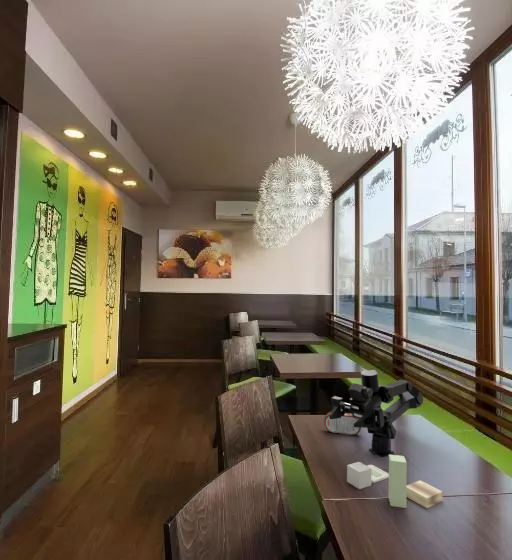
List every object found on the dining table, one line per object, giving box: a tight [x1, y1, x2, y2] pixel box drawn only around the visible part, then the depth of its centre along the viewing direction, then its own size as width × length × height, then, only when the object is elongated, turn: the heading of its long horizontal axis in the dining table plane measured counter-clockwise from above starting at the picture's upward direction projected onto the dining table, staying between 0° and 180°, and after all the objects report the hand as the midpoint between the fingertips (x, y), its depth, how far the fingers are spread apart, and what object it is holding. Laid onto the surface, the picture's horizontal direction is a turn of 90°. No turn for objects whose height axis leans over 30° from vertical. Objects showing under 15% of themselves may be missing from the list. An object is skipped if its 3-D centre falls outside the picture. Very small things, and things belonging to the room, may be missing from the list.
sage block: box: [387, 454, 408, 509], centre depth 99 cm, size 4×4×12 cm
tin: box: [323, 411, 362, 436], centre depth 149 cm, size 15×3×8 cm, turn 74°
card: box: [367, 464, 389, 484], centre depth 115 cm, size 8×8×1 cm
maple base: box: [406, 479, 443, 509], centre depth 102 cm, size 7×7×3 cm
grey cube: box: [346, 461, 372, 490], centre depth 109 cm, size 5×5×5 cm
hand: (341, 421), depth 115 cm, fingers open, 9 cm apart
